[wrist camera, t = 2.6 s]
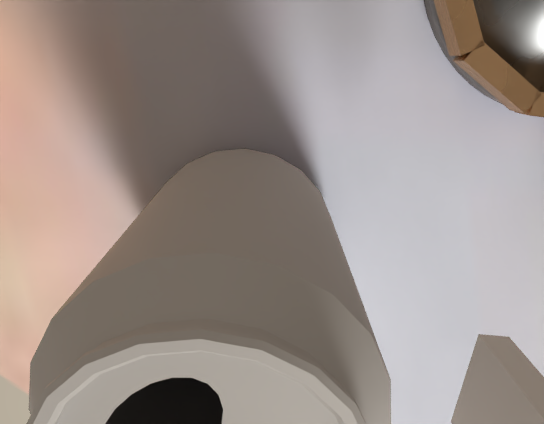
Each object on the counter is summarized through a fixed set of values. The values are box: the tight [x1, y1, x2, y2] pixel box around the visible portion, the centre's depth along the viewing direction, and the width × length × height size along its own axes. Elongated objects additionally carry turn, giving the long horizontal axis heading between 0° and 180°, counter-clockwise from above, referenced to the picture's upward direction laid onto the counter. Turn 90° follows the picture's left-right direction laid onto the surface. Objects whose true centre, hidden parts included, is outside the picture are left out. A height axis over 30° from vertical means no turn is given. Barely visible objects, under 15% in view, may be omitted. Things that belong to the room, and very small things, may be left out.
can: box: [27, 148, 391, 424], centre depth 13 cm, size 8×8×12 cm
